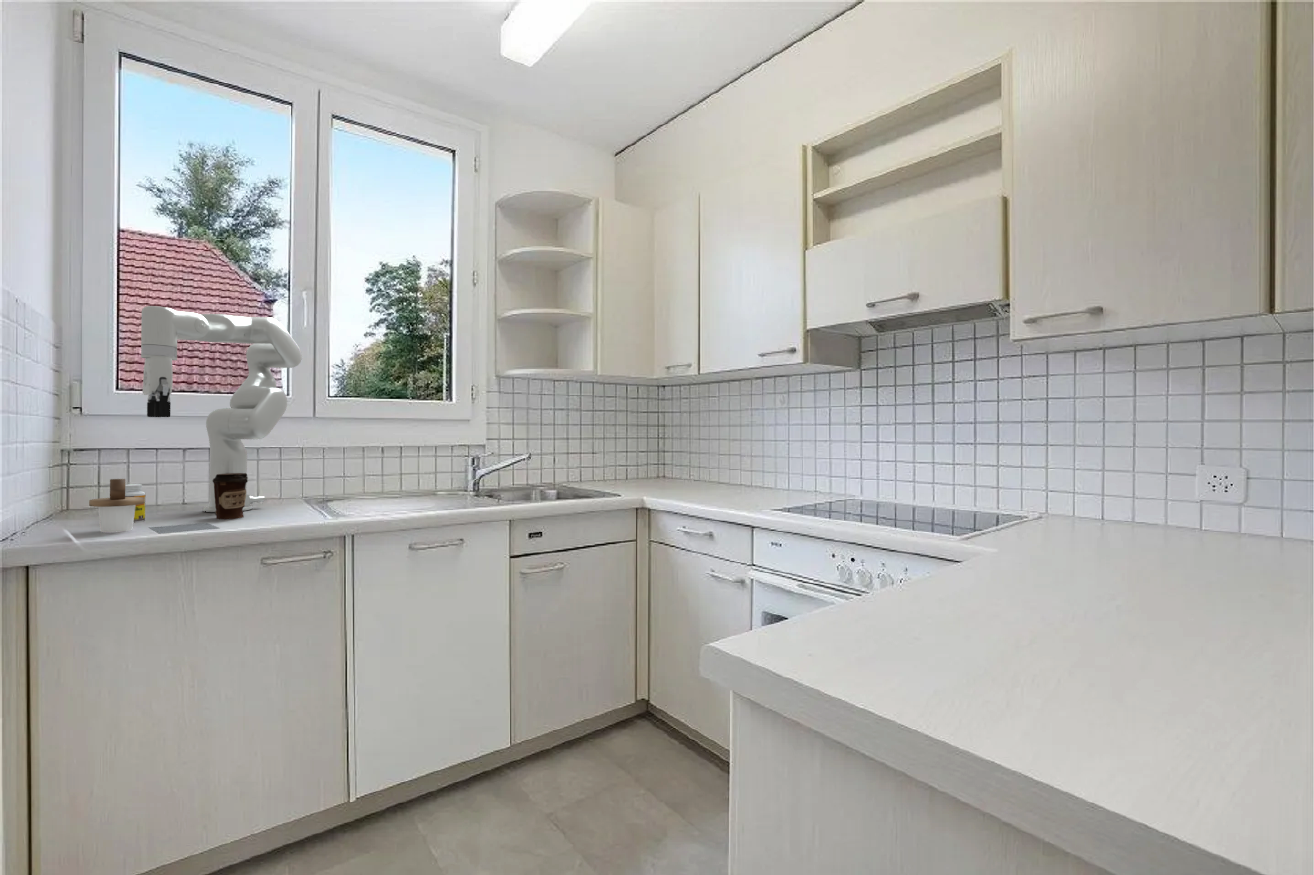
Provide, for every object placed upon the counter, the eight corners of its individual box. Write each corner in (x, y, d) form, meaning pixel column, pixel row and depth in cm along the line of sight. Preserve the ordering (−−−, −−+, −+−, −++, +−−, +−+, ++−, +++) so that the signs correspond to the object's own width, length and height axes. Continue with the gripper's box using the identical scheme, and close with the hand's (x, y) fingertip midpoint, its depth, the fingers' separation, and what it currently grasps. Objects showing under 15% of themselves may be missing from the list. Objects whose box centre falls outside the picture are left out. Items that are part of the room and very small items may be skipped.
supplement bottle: (118, 525, 159) (118, 485, 159) (116, 522, 163) (117, 484, 163) (146, 523, 163) (146, 485, 162) (144, 521, 167) (144, 483, 166)
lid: (139, 500, 155) (140, 477, 155) (148, 504, 148) (148, 479, 148) (85, 503, 147) (86, 478, 147) (92, 507, 141) (93, 481, 141)
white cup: (126, 534, 145) (126, 505, 145) (90, 535, 144) (91, 506, 143) (141, 530, 152) (141, 502, 152) (107, 531, 150) (108, 502, 150)
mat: (207, 525, 162) (207, 522, 162) (219, 530, 154) (219, 528, 154) (148, 529, 153) (148, 527, 153) (159, 535, 145) (159, 533, 145)
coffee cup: (255, 519, 174) (256, 473, 174) (224, 522, 166) (225, 474, 166) (236, 516, 177) (237, 471, 177) (205, 520, 170) (205, 473, 170)
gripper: (135, 354, 168) (134, 416, 168) (147, 349, 156) (147, 416, 156) (169, 357, 173) (168, 417, 173) (184, 352, 162) (183, 417, 162)
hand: (158, 417), depth 165 cm, fingers open, 9 cm apart
